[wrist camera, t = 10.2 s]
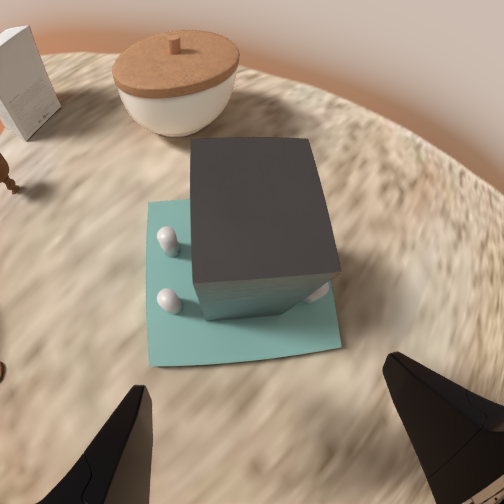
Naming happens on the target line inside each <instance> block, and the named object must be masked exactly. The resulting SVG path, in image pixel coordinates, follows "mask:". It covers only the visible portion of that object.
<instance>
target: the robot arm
mask: <svg viewBox="0 0 504 504" xmlns="http://www.w3.org/2000/svg"><path fill="white" fill-rule="evenodd" d="M383 375H384V378H385V380H386V383H387V386H388V389H389V392H390V395H391V398H392V400H393V403H394V405H395V407H396V410H397V412H398V414H399V416H400V418H401V420H402V423H403V425H404V427H405V429H406V431H407V434H408V436H409V438H410V440H411V443H412V445H413V447H414V449H415V452H416V454H417V456H418V459H419V461H420V464H421V466H422V468H423V471H424V473H425V476H426V478H427V481H428V483H429V486H430V489H431V491H432V494H433V496H434V499H435V502H436V504H462V503H463V502H465V501H467V500H468V499H470V498H471V500H472V502H471V503H470V504H504V406H502V405H499V404H497V403H495V402H492V401H490V400H487V399H485V398H483V397H481V396H479V395H477V394H475V393H473V392H471V391H469V390H467V389H464V388H463V387H462V386H460V385H458V384H456V383H454V382H452V381H451V380H449V379H447V378H445V377H443V376H442V375H440V374H438V373H436V372H434V371H433V370H431V369H429V368H427V367H425V366H423V365H422V364H420V363H418V362H416V361H415V360H413V359H411V358H409V357H407V356H406V355H404V354H402V353H400V352H393V353H389V354H388V356H387V358H386V361H385V363H384V366H383ZM152 447H153V428H152V400H151V397H150V395H149V392H148V390H147V388H146V386H145V385H134V386H133V387H132V388H131V389H130V391H129V392H128V393H127V395H126V396H125V397H124V399H123V400H122V401H121V403H120V404H119V405H118V407H117V408H116V409H115V411H114V412H113V413H112V415H111V416H110V417H109V419H108V420H107V421H106V423H105V424H104V426H103V427H102V428H101V430H100V431H99V432H98V434H97V435H96V436H95V438H94V439H93V440H92V442H91V443H90V445H89V446H88V447H87V449H86V450H85V451H84V454H82V455H81V457H80V458H79V460H78V461H77V462H76V463H75V465H74V466H73V467H72V469H71V470H70V471H69V472H68V473H67V474H66V475H65V477H64V478H63V479H62V480H61V481H60V482H59V483H58V484H57V485H56V486H55V487H54V488H53V489H52V490H51V491H50V492H49V493H48V494H47V495H46V496H45V497H44V498H43V499H42V500H41V501H39V502H38V503H36V504H149V494H150V475H151V460H152Z"/></svg>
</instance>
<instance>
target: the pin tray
mask: <svg viewBox="0 0 504 504" xmlns="http://www.w3.org/2000/svg"><path fill="white" fill-rule="evenodd" d="M146 316H147V338H148V353H149V366H187V365H206V364H221V363H233V362H244V361H253V360H262V359H271V358H278V357H286V356H293V355H299V354H306V353H312V352H318V351H324V350H329V349H335V348H340V347H341V341H340V333H339V327H338V320H337V313H336V307H335V301H334V295H333V289H332V284H331V280H330V281H328V282H327V283H326V284H324V285H323V286H322V287H320V288H319V289H318V290H316V291H315V292H313V293H312V294H311V295H309V296H308V297H306V298H305V299H304V300H302V301H301V302H299V303H298V304H297V305H295V306H294V307H292V308H291V309H289V310H288V311H287V312H285V313H284V314H282V315H276V316H266V317H256V318H245V319H233V320H220V321H206V319H205V316H204V314H203V311H202V308H201V305H200V303H199V300H198V297H197V295H196V292H195V289H194V286H193V282H192V259H191V224H190V199H186V200H172V201H159V202H149V203H148V219H147V241H146Z"/></svg>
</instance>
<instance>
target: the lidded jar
mask: <svg viewBox="0 0 504 504" xmlns="http://www.w3.org/2000/svg"><path fill="white" fill-rule="evenodd" d="M239 56H240V54H239V50H238V48H237V47H236V45H235V44H234V43H233V42H232V41H231V40H229V39H228V38H226V37H224V36H222V35H219V34H216V33H212V32H206V31H198V30H181V31H173V32H166V33H162V34H158V35H154V36H151V37H148V38H146V39H143V40H141V41H139V42H137V43H135V44H134V45H132V46H130V47H129V48H127V49H126V50H125V51H124V52H123V53H121V55H120V56H119V57H118V58H117V59H116V61H115V63H114V65H113V69H112V73H113V78H114V82H115V84H116V85H117V88H118V91H119V94H120V97H121V100H122V102H123V104H124V106H125V108H126V110H127V111H128V113H129V114H130V116H131V117H132V118H133V119H134V120H135V121H136V122H137V123H138V124H139V125H140V126H142V127H143V128H145V129H147V130H149V131H151V132H154V133H158V134H160V135H163V136H166V137H184V136H188V135H192V134H194V133H196V132H198V131H200V130H201V129H203V128H204V127H205V126H207V125H208V124H210V123H211V122H212V121H214V120H215V119H216V118H217V117H218V116H219V115H220V114H221V113H222V111H223V110H224V108H225V107H226V105H227V104H228V101H229V99H230V97H231V94H232V92H233V88H234V84H235V78H236V71H237V67H238V63H239Z"/></svg>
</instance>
